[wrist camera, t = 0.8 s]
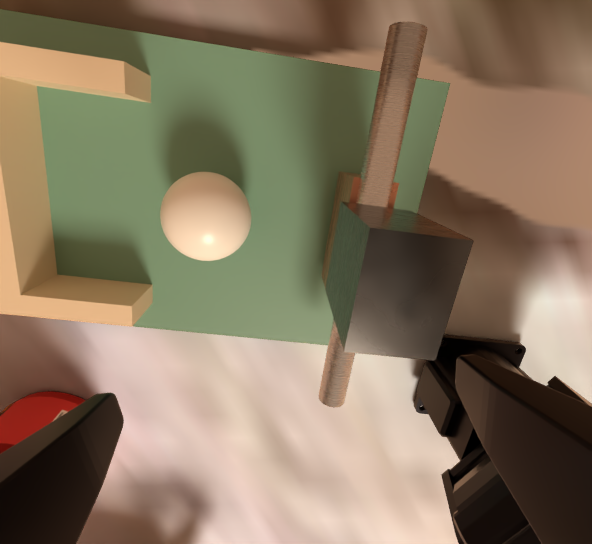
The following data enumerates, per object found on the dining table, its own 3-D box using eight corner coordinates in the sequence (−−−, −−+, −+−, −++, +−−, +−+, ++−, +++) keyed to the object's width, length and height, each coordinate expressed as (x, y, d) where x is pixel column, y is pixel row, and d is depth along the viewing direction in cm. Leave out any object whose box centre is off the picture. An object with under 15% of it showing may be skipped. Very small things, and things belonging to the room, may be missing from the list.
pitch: (441, 86, 18) (482, 70, 15) (378, 342, 24) (396, 379, 20) (11, 16, 17) (-69, -23, 13) (47, 309, 22) (-2, 343, 18)
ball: (258, 175, 19) (250, 182, 14) (251, 251, 20) (242, 278, 16) (176, 164, 18) (144, 168, 14) (175, 242, 20) (146, 267, 16)
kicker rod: (409, 61, 16) (565, -47, 7) (345, 357, 22) (389, 503, 13) (349, 51, 16) (433, -74, 7) (300, 353, 22) (312, 498, 13)
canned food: (-4, 383, 24) (-227, 565, 13) (114, 391, 24) (-11, 571, 14) (14, 465, 26) (-160, 671, 16) (121, 470, 27) (19, 672, 16)
